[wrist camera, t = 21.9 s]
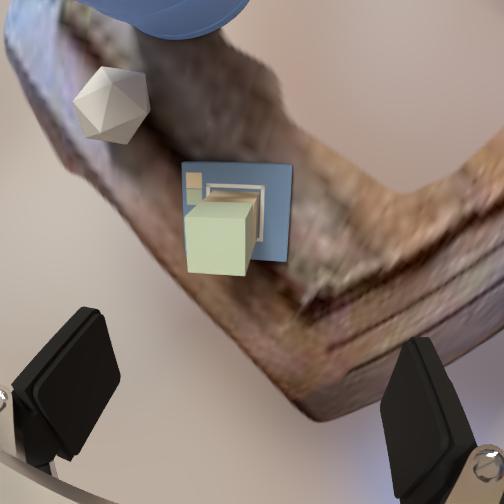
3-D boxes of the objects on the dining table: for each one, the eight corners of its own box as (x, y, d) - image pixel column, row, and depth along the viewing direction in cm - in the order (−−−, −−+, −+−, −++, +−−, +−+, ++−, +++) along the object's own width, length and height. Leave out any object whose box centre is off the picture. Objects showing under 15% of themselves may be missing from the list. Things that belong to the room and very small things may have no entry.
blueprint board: (292, 164, 34) (292, 166, 33) (286, 257, 39) (286, 262, 37) (185, 161, 35) (181, 162, 34) (188, 250, 40) (185, 254, 39)
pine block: (259, 192, 35) (254, 204, 30) (257, 235, 37) (252, 253, 32) (213, 190, 35) (201, 201, 31) (213, 232, 37) (202, 249, 33)
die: (160, 62, 32) (84, 48, 25) (178, 112, 30) (89, 100, 23) (129, 108, 37) (60, 103, 30) (143, 159, 35) (65, 158, 28)
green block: (252, 203, 30) (245, 219, 26) (252, 252, 32) (245, 276, 28) (200, 201, 31) (184, 216, 26) (202, 249, 33) (188, 272, 28)
